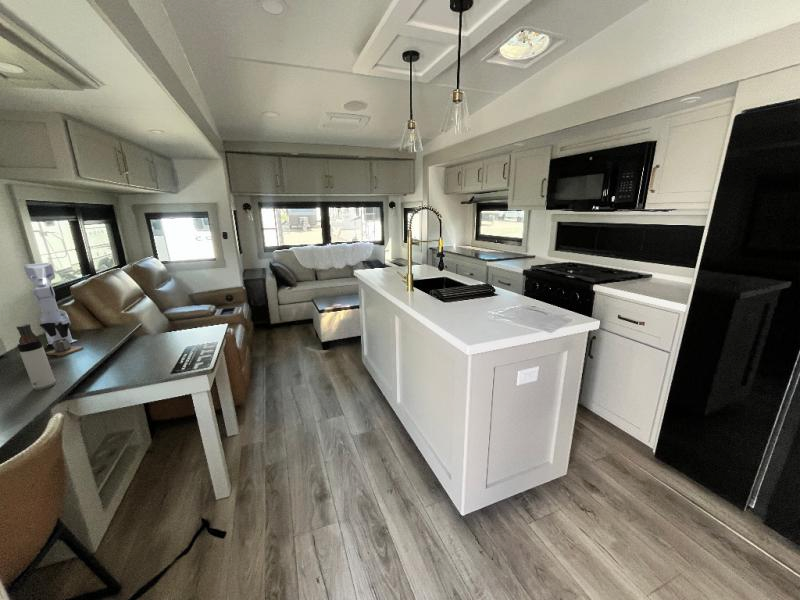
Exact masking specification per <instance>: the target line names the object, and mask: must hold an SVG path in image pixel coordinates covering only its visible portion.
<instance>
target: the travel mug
mask: <svg viewBox="0 0 800 600" xmlns="http://www.w3.org/2000/svg"><path fill="white" fill-rule="evenodd" d="M16 346H17V349H18V351H19V355H20V357H21V358H22V359H21V360H22V361H23V364H24V367H25V369H26V373H27V375H28V378H29V381H30V382H31V385H32V388H33V390H35V391H41V390H44V389H48V388H50V386H51V387H53V386H54V385H56V382H57V381H56V379H55V377H54V374H53V370H52V367H51V365H50V362H49V360H48V359H49V358H48V355H46V354H45V352H46V351H45V348H44V345H43V343H42V341H41V339H40V340H33V341H31V342H26V343H21V344H20V343H19V344H17V345H16ZM52 385H53V386H52Z"/></svg>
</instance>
